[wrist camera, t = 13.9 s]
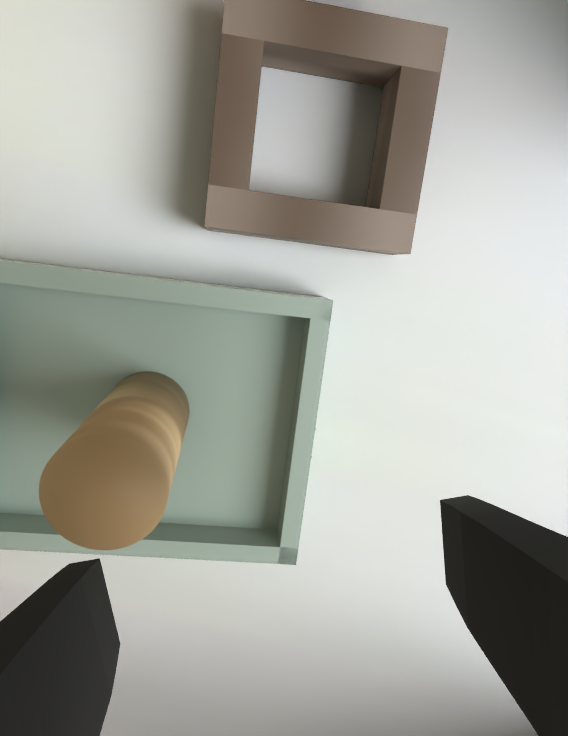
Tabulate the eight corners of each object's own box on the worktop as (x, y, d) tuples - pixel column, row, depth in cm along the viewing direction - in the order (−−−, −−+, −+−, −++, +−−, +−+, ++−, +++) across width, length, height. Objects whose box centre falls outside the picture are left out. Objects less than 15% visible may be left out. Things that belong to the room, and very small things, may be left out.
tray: (323, 297, 19) (332, 300, 17) (290, 539, 21) (295, 564, 19) (-15, 256, 18) (-42, 256, 16) (-17, 521, 20) (-42, 547, 18)
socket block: (424, 53, 18) (448, 28, 16) (392, 254, 19) (410, 253, 17) (226, 17, 17) (226, -16, 15) (207, 230, 18) (204, 226, 16)
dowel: (190, 373, 19) (169, 436, 12) (188, 449, 19) (165, 551, 13) (108, 369, 18) (37, 432, 12) (107, 446, 19) (40, 550, 12)
